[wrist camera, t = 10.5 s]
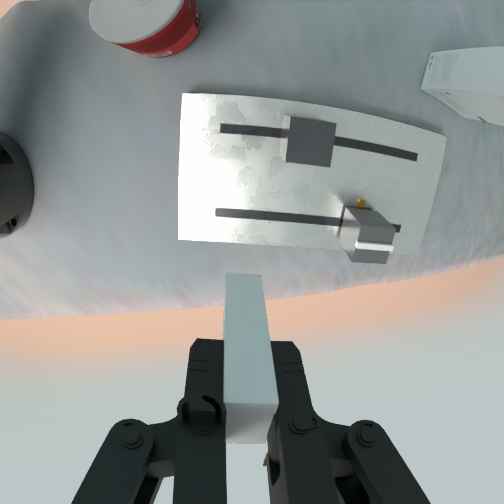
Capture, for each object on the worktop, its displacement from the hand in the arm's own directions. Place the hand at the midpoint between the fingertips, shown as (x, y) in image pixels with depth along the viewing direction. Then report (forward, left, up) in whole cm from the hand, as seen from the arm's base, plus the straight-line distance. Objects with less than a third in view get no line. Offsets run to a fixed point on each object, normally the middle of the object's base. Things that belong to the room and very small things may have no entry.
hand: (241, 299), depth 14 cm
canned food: (-10, +17, -22) cm, 30 cm away
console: (+8, +1, -22) cm, 24 cm away
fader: (+13, -3, -19) cm, 24 cm away
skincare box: (+24, +16, -22) cm, 37 cm away
